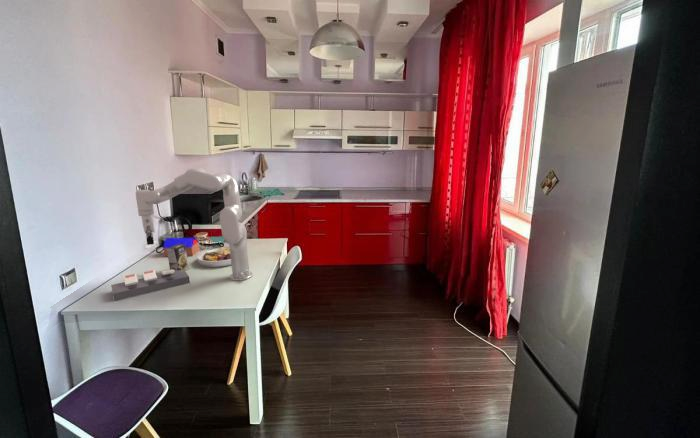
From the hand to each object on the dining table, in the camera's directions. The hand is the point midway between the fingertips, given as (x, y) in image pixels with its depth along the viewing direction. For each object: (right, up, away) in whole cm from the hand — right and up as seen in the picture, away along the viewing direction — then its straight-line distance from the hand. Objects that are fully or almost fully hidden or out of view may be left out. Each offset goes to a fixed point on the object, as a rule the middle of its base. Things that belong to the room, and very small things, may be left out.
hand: (150, 242), depth 208 cm
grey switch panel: (+4, -24, -6) cm, 25 cm away
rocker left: (-5, -20, -10) cm, 23 cm away
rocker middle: (+3, -19, -5) cm, 20 cm away
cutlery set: (+8, -6, +72) cm, 73 cm away
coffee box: (+9, -19, +16) cm, 27 cm away
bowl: (+29, -15, +34) cm, 47 cm away
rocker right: (+10, -17, 0) cm, 20 cm away
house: (-5, -12, +51) cm, 52 cm away
